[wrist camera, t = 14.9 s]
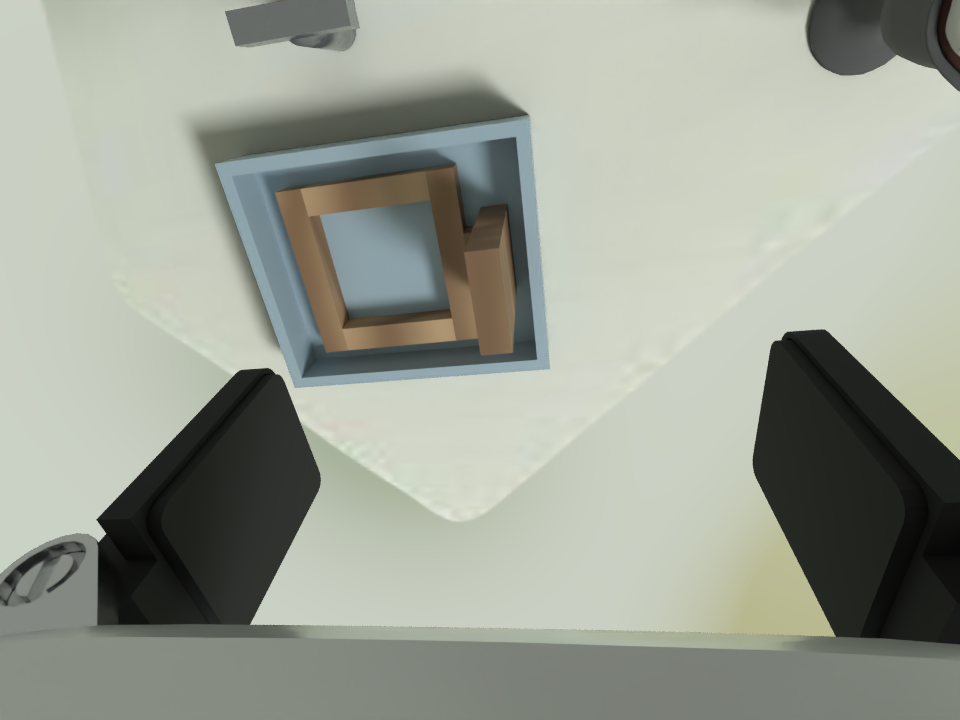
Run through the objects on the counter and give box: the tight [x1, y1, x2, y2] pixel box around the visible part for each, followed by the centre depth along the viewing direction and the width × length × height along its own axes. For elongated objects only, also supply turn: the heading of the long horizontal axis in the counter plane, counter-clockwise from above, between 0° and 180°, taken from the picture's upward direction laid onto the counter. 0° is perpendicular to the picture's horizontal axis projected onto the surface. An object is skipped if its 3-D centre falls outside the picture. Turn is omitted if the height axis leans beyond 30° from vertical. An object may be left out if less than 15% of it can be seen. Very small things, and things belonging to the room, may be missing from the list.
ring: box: [275, 163, 517, 356], centre depth 27 cm, size 12×10×8 cm
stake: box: [225, 0, 360, 51], centre depth 23 cm, size 2×5×6 cm, turn 98°
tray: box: [215, 115, 550, 388], centre depth 30 cm, size 14×16×3 cm
